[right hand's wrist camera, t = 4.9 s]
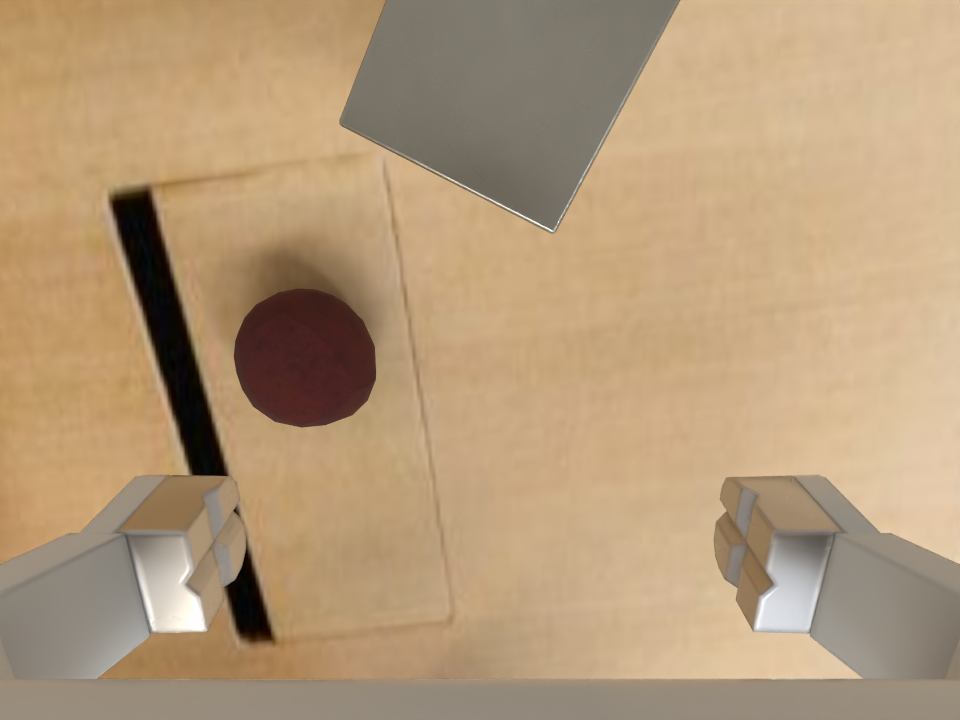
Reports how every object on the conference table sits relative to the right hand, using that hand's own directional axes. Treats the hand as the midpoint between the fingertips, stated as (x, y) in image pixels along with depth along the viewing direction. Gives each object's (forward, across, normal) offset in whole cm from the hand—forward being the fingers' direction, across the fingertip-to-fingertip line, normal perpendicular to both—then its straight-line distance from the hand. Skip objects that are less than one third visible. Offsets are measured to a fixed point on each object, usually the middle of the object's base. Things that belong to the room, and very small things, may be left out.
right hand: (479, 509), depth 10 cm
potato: (+26, +9, +6) cm, 28 cm away
